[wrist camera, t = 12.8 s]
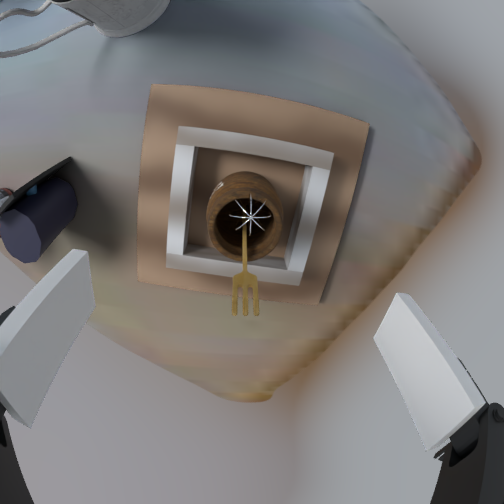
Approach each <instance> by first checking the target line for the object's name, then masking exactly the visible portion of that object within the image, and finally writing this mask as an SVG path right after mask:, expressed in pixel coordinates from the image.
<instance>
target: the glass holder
mask: <svg viewBox="0 0 504 504" xmlns="http://www.w3.org/2000/svg"><path fill="white" fill-rule="evenodd" d="M51 3H54V4H56V5H58V6H60V7H62V8H64V9H66V10H68V11H70V12H72V13H74V14H76V15H78V16H79V17H81V18H83V19H85V20H84V21H81V22H78V23H76V24H73V25H71V26H69V27H67V28H65V29H63V30H61V31H59V32H57V33H55V34H53V35H51V36H49V37H47V38H45V39H43V40H41V41H39V42H37V43H35V44H32V45H29V46H26V47H23V48H20V49H16V50H12V51H5V52H0V58H6V57H12V56H17V55H20V54H24V53H27V52H30V51H33V50H36V49H38V48H40V47H42V46H44V45H46V44H47V43H49V42H51V41H53V40H55V39H57V38H59V37H61V36H63V35H65V34H67V33H69V32H71V31H73V30H75V29H77V28H80V27H82V26H85V25H90V26H93V24H94V26H95V28H96V29H97V31H99V32H100V33H101V34H102V35H104V36H107V37H114V38H118V37H125V36H129V35H132V34H135V33H137V32H139V31H141V30H143V29H145V28H146V27H148V26H149V25H151V24H152V23H153V22H155V21H156V20H157V19H158V18H159V17H160V16H161V15H162V14H163V12H164V11H165V10H166V8H167V7H168V5H169V3H170V0H47V1H46V2H45V3H44V4H43V5H42V6H41V7H40V8H38V9H37V10H34V11H30V10H26V9H20V8H16V9H10V10H8V11H5V12H3V13H1V14H0V21H1V20H3V19H4V18H7V17H9V16H11V15H17V14H18V15H25V16H31V17H32V16H36V15H39V14H40V13H42V12H43V11H44V10H45V9H47V8H48V7H49V6H50V5H51Z"/></svg>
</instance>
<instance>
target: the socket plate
mask: <svg viewBox="0 0 504 504" xmlns="http://www.w3.org/2000/svg"><path fill="white" fill-rule="evenodd" d="M369 125H370V124H369V123H366V122H364V121H361V120H358V119H355V118H352V117H349V116H345V115H342V114H339V113H336V112H332V111H329V110H325V109H322V108H318V107H314V106H310V105H307V104H303V103H298V102H294V101H290V100H285V99H281V98H276V97H271V96H265V95H260V94H254V93H248V92H242V91H235V90H227V89H219V88H210V87H199V86H186V85H166V84H151V90H150V95H149V101H148V107H147V114H146V120H145V128H144V136H143V144H142V153H141V164H140V176H139V191H138V214H137V271H138V281H139V282H145V283H151V284H156V285H162V286H168V287H175V288H181V289H187V290H194V291H201V292H207V293H215V294H222V295H229V296H232V291H233V276H234V275H236V274H239V273H241V272H242V271H243V262H241V261H235V260H232V259H229V258H227V257H225V256H224V255H222V254H221V253H220V252H219V251H218V250H217V249H216V248H215V247H214V245H213V243H212V242H211V239H210V237H209V233H208V226H207V219H206V212H207V206H208V203H209V200H210V197H211V195H212V193H213V191H214V189H215V187H216V186H217V185H218V183H219V182H220V181H221V180H222V179H224V178H225V177H226V176H228V175H230V174H233V173H236V172H241V171H248V172H254V173H257V174H259V175H261V176H263V177H264V178H266V179H267V180H268V181H269V182H270V183H271V184H272V186H273V187H274V189H275V190H276V192H277V194H278V196H279V198H280V200H281V203H282V207H283V230H282V235H281V238H280V241H279V243H278V244H277V246H276V247H275V248H274V250H273V251H272V252H270V253H269V254H268V255H266V256H265V257H263V258H261V259H258V260H255V261H250V262H247V271H248V272H249V273H251V274H254V275H256V276H257V281H258V299H261V300H269V301H278V302H287V303H297V304H307V305H317V306H318V304H319V301H320V298H321V296H322V293H323V290H324V287H325V284H326V281H327V279H328V276H329V273H330V270H331V267H332V264H333V261H334V258H335V254H336V251H337V248H338V245H339V242H340V239H341V235H342V232H343V229H344V225H345V222H346V218H347V215H348V211H349V208H350V204H351V201H352V197H353V193H354V190H355V186H356V182H357V178H358V174H359V170H360V166H361V162H362V157H363V153H364V149H365V144H366V139H367V135H368V130H369ZM238 297H243V288H242V287H239V288H238ZM248 298H252V299H253V288H252V287H249V288H248Z"/></svg>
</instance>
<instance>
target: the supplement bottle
mask: <svg viewBox="0 0 504 504" xmlns="http://www.w3.org/2000/svg"><path fill="white" fill-rule="evenodd" d="M11 194H12V192H11V191H10V190H8V189H6V188H1V189H0V207H1V206H2V204H3V203H4V202H5V201H6V200H7V199H8V198H9V196H10V195H11ZM0 218H1V216H0ZM0 238H1V235H0Z"/></svg>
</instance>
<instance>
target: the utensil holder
mask: <svg viewBox="0 0 504 504" xmlns="http://www.w3.org/2000/svg"><path fill="white" fill-rule="evenodd" d="M206 219H207V226H208V233H209V237H210V239H211V242H212V243H213V245H214V247H215V248H216V249H217V250H218V251H219V252H220V253H221V254H222V255H224V256H225V257H227V258H229V259H232V260H235V261H241V262H243V271H242V272H241V273H239V274H236V275H234V276H233V291H232V315H233V316H236V315H237V301H238V288H239V287H242V288H243V315H244V316H247V315H248V288H249V287H252V288H253V308H254V315H255V316H258V315H259V300H258V281H257V276H256V275H254V274H251V273H249V272H248V271H247V262H250V261H255V260H258V259H261V258H263V257H265V256H266V255H268V254H269V253H270V252H272V251H273V250H274V248H275V247H276V246H277V244H278V243H279V241H280V238H281V235H282V230H283V207H282V203H281V200H280V198H279V196H278V194H277V192H276V190H275V189H274V187H273V186H272V184H271V183H270V182H269V181H268V180H267V179H266V178H264V177H263V176H261V175H259V174H257V173H254V172H248V171H241V172H236V173H233V174H230V175H228V176H226V177H225V178H224V179H222V180H221V181H220V182H219V183H218V185H217V186H216V187H215V189H214V191H213V193H212V195H211V197H210V200H209V203H208V206H207V212H206Z"/></svg>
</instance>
